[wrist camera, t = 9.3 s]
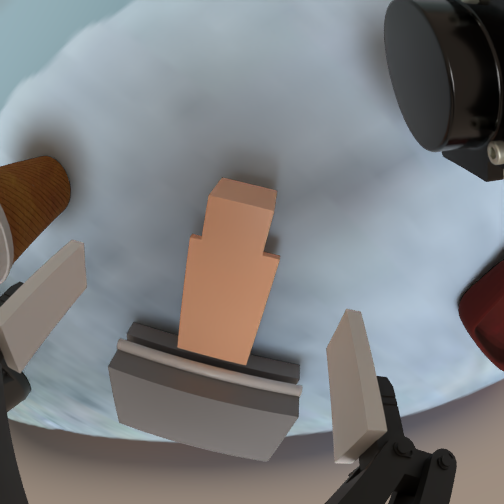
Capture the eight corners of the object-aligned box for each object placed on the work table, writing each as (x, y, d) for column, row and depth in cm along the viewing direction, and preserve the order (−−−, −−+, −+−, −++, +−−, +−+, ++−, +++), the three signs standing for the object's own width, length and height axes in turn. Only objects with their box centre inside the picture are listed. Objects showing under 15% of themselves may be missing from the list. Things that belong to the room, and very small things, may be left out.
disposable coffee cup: (100, 204, 27) (16, 272, 17) (47, 241, 30) (-24, 304, 20) (54, 120, 24) (-46, 155, 13) (7, 171, 27) (-74, 215, 16)
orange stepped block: (246, 361, 31) (241, 392, 28) (178, 343, 31) (167, 372, 28) (297, 196, 22) (298, 217, 19) (201, 172, 22) (184, 189, 19)
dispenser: (271, 418, 40) (267, 461, 34) (137, 383, 40) (119, 422, 34) (302, 359, 33) (301, 411, 27) (133, 315, 33) (106, 360, 27)
